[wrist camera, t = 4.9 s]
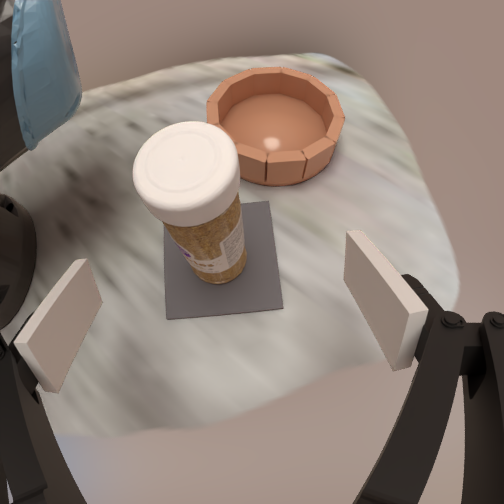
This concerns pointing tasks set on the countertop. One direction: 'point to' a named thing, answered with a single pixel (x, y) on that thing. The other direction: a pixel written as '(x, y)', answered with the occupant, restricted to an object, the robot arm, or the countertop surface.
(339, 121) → the terracotta bowl
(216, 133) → the sprinkles bottle
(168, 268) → the rubber mat
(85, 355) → the countertop surface
